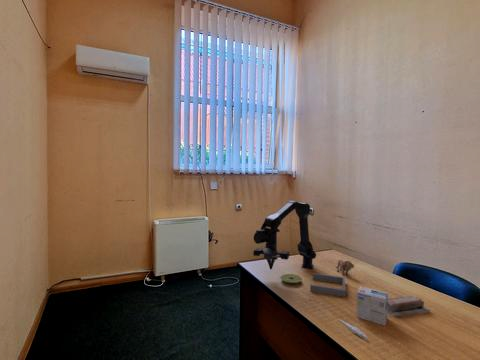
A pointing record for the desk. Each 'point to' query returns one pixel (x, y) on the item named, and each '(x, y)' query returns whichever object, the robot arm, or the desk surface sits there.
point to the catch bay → (327, 289)
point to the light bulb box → (372, 305)
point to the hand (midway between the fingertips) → (271, 269)
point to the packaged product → (406, 306)
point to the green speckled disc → (291, 278)
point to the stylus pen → (354, 329)
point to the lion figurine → (344, 266)
